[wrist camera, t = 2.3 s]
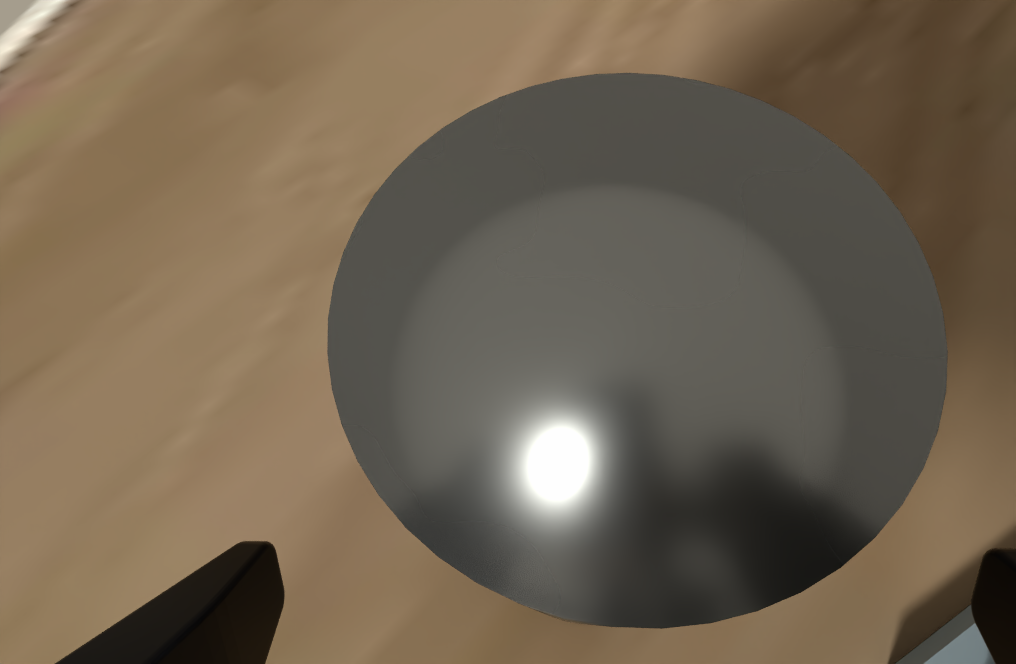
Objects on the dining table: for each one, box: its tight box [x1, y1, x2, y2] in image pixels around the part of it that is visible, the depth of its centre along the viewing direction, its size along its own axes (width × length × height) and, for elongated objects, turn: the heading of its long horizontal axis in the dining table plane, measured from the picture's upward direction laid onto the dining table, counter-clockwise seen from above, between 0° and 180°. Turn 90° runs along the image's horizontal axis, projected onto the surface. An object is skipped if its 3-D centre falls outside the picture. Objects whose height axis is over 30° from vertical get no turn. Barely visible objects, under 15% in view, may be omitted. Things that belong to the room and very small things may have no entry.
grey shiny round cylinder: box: [328, 73, 948, 628], centre depth 12 cm, size 6×6×13 cm
